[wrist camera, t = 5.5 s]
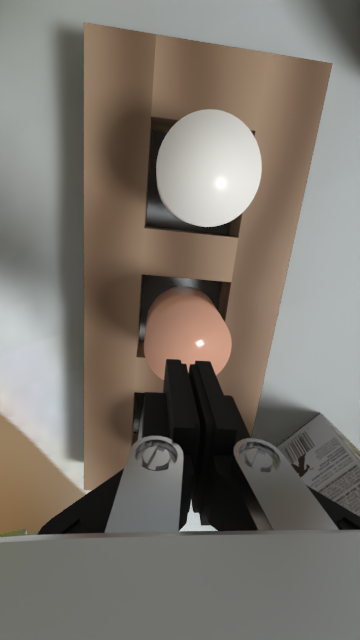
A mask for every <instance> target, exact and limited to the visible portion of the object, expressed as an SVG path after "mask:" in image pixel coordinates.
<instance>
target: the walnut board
mask: <svg viewBox="0 0 360 640" xmlns="http://www.w3.org/2000/svg"><path fill="white" fill-rule="evenodd" d="M331 68H332V63H327V62H321V61H315V60H309V59H303V58H297V57H290V56H284V55H278V54H272V53H266V52H260V51H254V50H248V49H242V48H236V47H230V46H224V45H217V44H211V43H205V42H199V41H193V40H187V39H181V38H175V37H169V36H163V35H157V34H150V33H144V32H138V31H132V30H126V29H120V28H114V27H108V26H102V25H96V24H90V23H84V490H94V489H95V488H96V487H98V486H99V485H101V484H102V483H104V482H105V481H106V480H108V479H109V478H111V477H112V476H114V475H115V474H116V473H118V472H119V471H121V470H122V469H124V468H125V464H126V461H127V458H128V454H129V451H130V449H131V447H132V445H133V444H134V443H136V442H137V441H138V435H139V433H133V425H134V410H135V394H136V392H140V393H145V392H158V393H163V386H164V380H162V379H161V378H159V377H158V376H157V375H156V374H155V373H154V372H153V371H152V370H151V368H150V367H149V365H148V363H147V361H146V358H145V354H144V342H139V331H140V315H141V299H142V283H143V274H144V275H156V276H167V277H178V278H189V279H201V280H212V281H222V285H221V292H220V299H219V305H218V312H219V314H220V315H221V317H222V319H223V320H224V322H225V324H226V325H227V327H228V329H229V332H230V335H231V340H232V347H231V353H230V357H229V359H228V361H227V363H226V365H225V366H224V368H223V369H222V370H221V371H220V372H219V373H218V374H217V375H216V377H217V379H218V382H219V384H220V387H221V389H222V392H223V394H224V395H230V396H232V397H233V399H234V401H235V403H236V405H237V408H238V410H239V412H240V414H241V416H242V419H243V421H244V423H245V425H246V428H247V430H248V432H249V434H250V437H251V436H252V431H253V427H254V422H255V418H256V413H257V408H258V404H259V399H260V395H261V390H262V385H263V381H264V376H265V372H266V367H267V362H268V358H269V353H270V349H271V344H272V339H273V335H274V330H275V326H276V321H277V316H278V312H279V307H280V303H281V298H282V293H283V289H284V284H285V280H286V275H287V270H288V266H289V261H290V257H291V252H292V247H293V243H294V238H295V234H296V229H297V224H298V220H299V215H300V210H301V206H302V201H303V197H304V192H305V187H306V183H307V178H308V174H309V169H310V164H311V160H312V155H313V151H314V146H315V141H316V137H317V132H318V128H319V123H320V118H321V114H322V109H323V105H324V100H325V95H326V91H327V86H328V82H329V77H330V72H331ZM206 109H215V110H221V111H225V112H227V113H230V114H232V115H234V116H235V117H237V118H238V119H240V120H241V121H242V122H243V123H244V124H245V125H246V126H247V127H248V128H249V129H250V131H251V132H252V134H253V135H254V137H255V139H256V141H257V144H258V146H259V150H260V154H261V161H262V172H261V179H260V184H259V187H258V190H257V192H256V194H255V196H254V199H253V200H252V202H251V203H250V205H249V206H248V207H247V208H246V210H245V211H244V212H243V213H241V214H240V215H239V216H238V217H236V218H235V219H234V220H232V221H231V225H230V232H229V235H223V234H214V233H204V232H195V231H185V230H175V229H166V228H156V227H146V220H147V204H148V188H149V172H150V157H151V141H152V129H153V130H160V131H168V132H169V130H170V129H171V128H172V127H173V126H174V125H175V123H177V122H178V121H179V120H180V119H182V118H183V117H185V116H187V115H188V114H191V113H193V112H196V111H200V110H206Z"/></svg>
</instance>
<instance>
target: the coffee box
mask: <svg viewBox="0 0 360 640" xmlns="http://www.w3.org/2000/svg"><path fill="white" fill-rule="evenodd" d="M277 448H278V449H279V450H280V451H281V452H282V453H283V455H284V456H285V457H286V459H287V460H288V461H289V463H290V464H291V466H292V467H293V468H294V470H295V471H296V472H297V474H298V475H299V476H300V478H301V479H302V480H303V482H304V483H305V484H306V485H307V486H309V487H310V488H312V489H314V490H316V491H317V492H319V493H321V494H322V495H324V496H326V497H327V498H329V499H331V500H332V501H334V502H336V503H338V504H339V505H341V506H343V507H344V508H346V509H348V510H349V511H351V512H353V513H354V514H356V515H358V516H360V451H359V450H358V449H357V448H356V447H355V446H354V445H353V444H352V443H351V442H350V441H349V440H348V439H347V438H346V437H345V436H344V435H343V434H342V433H341V432H340V431H339V430H338V429H337V428H336V427H335V426H334V425H333V424H332V423H331V422H330V421H329V420H328V419H327V418H326V417H325V416H324V415H322V414H319V415H318V416H316V417H315V418H314V419H312V420H311V421H310V422H309V423H307V424H306V425H305V426H304V427H302V428H301V429H300V430H298V431H297V432H296V433H294V434H293V435H292V436H291V437H289V438H288V439H287V440H285V441H284V442H283V443H281V444H280V445H279V446H278V447H277Z"/></svg>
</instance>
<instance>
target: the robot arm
mask: <svg viewBox="0 0 360 640" xmlns="http://www.w3.org/2000/svg"><path fill="white" fill-rule="evenodd" d="M191 499H192V507H193V512H194V513H199V514H200V520H201V525H212V526H213V527H214V528H215V529H216V530H218V531H186V532H179V530H180V529H181V528H182V527H183V526H184V525H185V524H186V521H187V514H188V512H189V509H190V502H191ZM0 640H360V516H358V515H356V514H354V513H353V512H351V511H349V510H348V509H346V508H344V507H343V506H341V505H339V504H338V503H336V502H334V501H332V500H331V499H329V498H327V497H326V496H324V495H322V494H321V493H319V492H317V491H316V490H314V489H312V488H310V487H309V486H307V485H306V484H305V483H304V482H303V480H302V479H301V478H300V476H299V475H298V474H297V472H296V471H295V470H294V468H293V467H292V466H291V464H290V463H289V461H288V460H287V459H286V457H285V456H284V455H283V453H282V452H281V451H280V450H279V449H278V448H277V447H275V446H274V445H272V444H271V443H269V442H266V441H264V440H260V439H256V438H251V437H250V434H249V432H248V430H247V428H246V425H245V423H244V421H243V419H242V416H241V414H240V412H239V410H238V408H237V405H236V403H235V401H234V399H233V397H232V396H230V395H224V394H223V392H222V389H221V387H220V384H219V382H218V379H217V377H216V374H215V372H214V369H213V367H212V364H211V362H210V361H195V364H190V366H189V373H188V369H187V365H186V364H182V363H181V360H178V359H166V365H165V376H164V386H163V393H158V392H145V395H144V408H143V422H142V439H140V440H138V441H137V442H136V443H134V444H133V445H132V447H131V449H130V451H129V454H128V458H127V461H126V464H125V468H124V469H122V470H121V471H119V472H118V473H116V474H115V475H114V476H112V477H111V478H109V479H108V480H106V481H105V482H104V483H102V484H101V485H99V486H98V487H96V488H95V489H94V490H92V491H91V492H89V493H88V494H86V495H85V496H84V497H82V498H81V499H79V500H78V501H76V502H75V503H73V504H72V505H71V506H69V507H68V508H66V509H65V510H63V511H62V512H61V513H59V514H58V515H56V516H55V517H54V518H52V519H51V520H50V521H49V522H47V523H46V524H45V525H44V526H43V527H42V528H41V530H40V531H38V532H34V533H29V534H27V532H26V529H22V530H18V531H13V532H9V533H4V534H0Z"/></svg>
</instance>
